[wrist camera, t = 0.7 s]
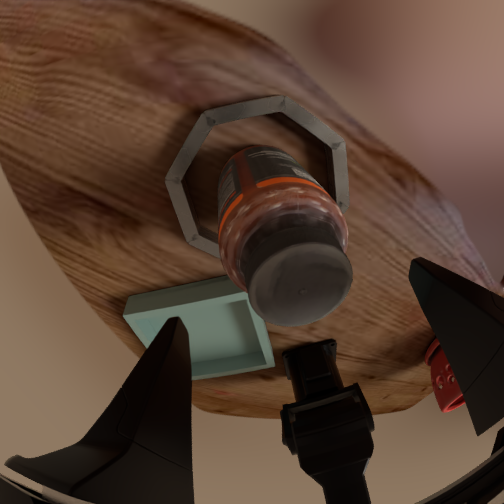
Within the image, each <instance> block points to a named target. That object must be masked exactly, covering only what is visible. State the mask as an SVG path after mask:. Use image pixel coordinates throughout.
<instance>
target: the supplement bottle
mask: <svg viewBox="0 0 504 504" xmlns="http://www.w3.org/2000/svg"><path fill="white" fill-rule="evenodd" d="M218 239H219V253H220V257H221V262H222V265H223V267H224V269H225V271H226V273H227V275H228V276H229V278H230V279H231V280H232V281H233V283H234V284H235V285H236V286H238V287H239V288H240V289H241V290H243V291H245V292H246V293H248V298H249V302H250V304H251V307H252V308H253V310H254V311H255V313H256V314H257V315H258V316H260V317H261V318H262V319H263V320H265V321H267V322H269V323H272V324H275V325H280V326H301V325H305V324H309V323H312V322H315V321H318V320H319V319H321V318H323V317H325V316H327V315H328V314H330V313H331V312H333V311H334V310H335V309H336V308H337V307H338V306H339V305H340V304H341V303H342V302H343V300H344V299H345V297H346V296H347V294H348V292H349V289H350V287H351V283H352V281H353V279H352V275H353V272H352V266H351V264H350V261H349V260H348V258H347V256H346V250H347V244H348V228H347V224H346V221H345V218H344V215H343V213H342V212H341V210H340V208H339V207H338V205H337V204H336V202H335V201H334V200H333V199H332V198H331V197H330V196H329V194H328V193H327V192H326V191H325V190H324V189H323V188H322V187H321V185H320V184H319V183H318V182H317V181H316V180H315V179H314V178H313V177H312V176H311V175H310V174H309V173H308V172H307V171H306V170H305V169H304V168H303V167H302V166H301V165H300V164H299V163H298V162H297V161H296V160H295V159H294V158H293V157H292V156H290V155H289V154H287V153H286V152H284V151H283V150H281V149H279V148H276V147H273V146H267V145H256V146H251V147H248V148H245V149H243V150H241V151H239V152H237V153H236V154H234V155H233V156H232V157H231V158H230V159H229V160H228V161H227V162H226V164H225V165H224V167H223V169H222V171H221V173H220V177H219V182H218Z"/></svg>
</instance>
